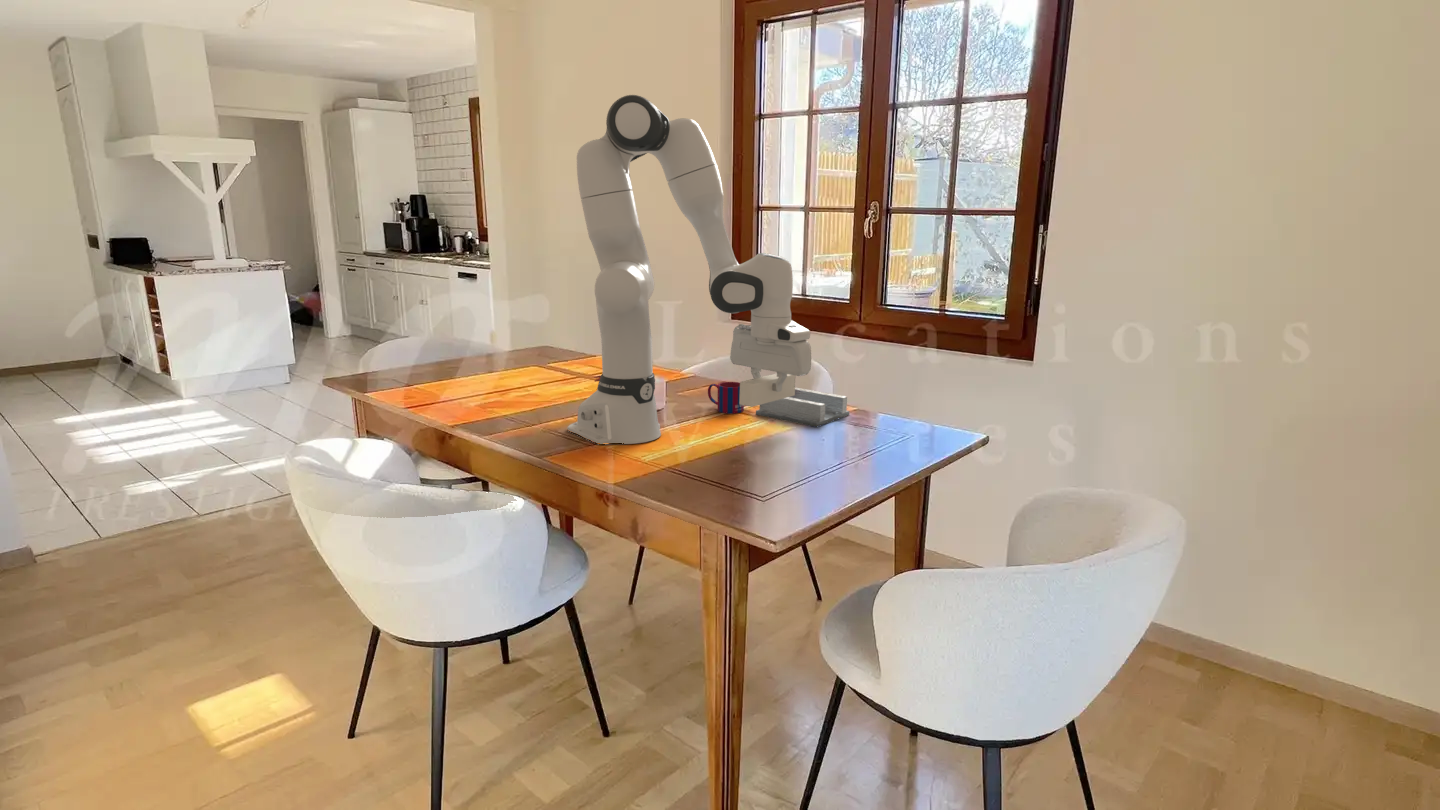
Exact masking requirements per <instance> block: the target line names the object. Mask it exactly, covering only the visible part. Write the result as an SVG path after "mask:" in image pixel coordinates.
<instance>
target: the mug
mask: <svg viewBox="0 0 1440 810" xmlns="http://www.w3.org/2000/svg"><path fill="white" fill-rule="evenodd" d="M713 386H714V387H715V388H716V389H717V401H716V400H715V399H714V398H713V395H712V393H711V392H712V387H713ZM707 396H708V398H709V400H710V401H711V402H712V403H713V404H714V405H716V406H717V411H718V412H719V413H722V414H730V415H731V414H732V415H734V414H741V413H743V412H744V410H745V405H741V404H739V399H740V382H738V381H724V382H723V381H722V382H719V383H717V384H716V383H711V384H709V386H708V388H707Z"/></svg>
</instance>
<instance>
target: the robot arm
mask: <svg viewBox="0 0 1440 810" xmlns="http://www.w3.org/2000/svg"><path fill="white" fill-rule="evenodd" d="M605 129H606V130H605V131H606V132H605V133H604V135H603V136H602V137H599V138H597V139H596V138H595V139H592V140H590V141H587V142H585V143H584V144H583V145H582V146H581V147H579V149H578V151H577V153H576V174H577V175H576V176H577V183H578V191H579V195H580V202H581V207H582V211H583V216H584V221H585V225H586V229H587V235H588V239H589V240H590V242H591V245H592V247H593V248H592V249H593V250H594V253H595V256H596V258H597V263H598V265H599V266H598V267H599V269H600V272H599V273H598V275H597V277H596V279H595V282H594V296H595V304H596V312H597V321H598V325H599V327H598V328H599V333H600V338H601V339H600V340H601V341H600V342H601V363H602V365H601V366H602V369H601V370H602V373H601V375H597V376H594V377H593V378H595V380H594V382H598V384H597V388H596V389H597V390H596V391H594V392H593V393H592V394H591V395H590V396H589V397H588V398H585V400H584V401H582V402H581V403H580V404H579V406H578V409H577V421H576V422H573V423H570V424H569V425H568V426H567V428H566V430H567V429H568V430H570V431H572V432H574V433H577V434H579V435H581V436H583V437H585V438H587V439H590V440H592V441H594V442H596V443H600V444H603V443H622V444H621V445H632V444H641V443H648V442H652V441H654V440H657V439H658V438H660V437H661V436H662V432H661V423H659V418H658V410H657V404H656V396H655V394H654V392H655V389H656V377H655V374H654V372H653V365H654V364H653V337H652V331H651V320H650V310H649V309H650V307H649V300H650V299H651V297H652V295H653V293H654V290H655V280H654V275H653V270H652V266H651V262H650V259H649V255H648V251H647V247H646V243H645V240H644V235H643V233H642V228H641V226H640V220H639V219H640V218H639V214H638V209H637V204H636V200H635V199H636V198H635V195H634V189H633V184H632V180H631V179H632V178H631V175H630V172H631V171H630V164H631V163H632V162H633V161H635V160H637V159H639V158H641V157H643V156H645V155H646V154H651V155H652V156H654V157H655V158H656V159H657V160H658V162H659V163H660V165H661V168H662V170H663V173H664V176H665V179H666V182H667V185H668V188H669V190H670V194H671V195H672V197H673V199H674V201H675V203H676V205H677V207H678V208H679V210H680V212H681V213H682V214H683V215H684V217H685V218H686V219H687V220H688V221H689V222H690V224H691V225H692V227H693V228H694V230H695V232H696V234H697V235H698V236H697V237H698V238H699V241H700V244H701V246H702V249H703V250H702V251H703V252H704V256H705V257H706V261H707V264H708V267H709V280H708V291H709V295H710V299H711V300H712V301H711V302H712V303H713V305H714V306H715V307H716V308H717V309H718V310H720V311H721V312H724V313H727V314H738V313H742V312H747V311H750V313H751V315H750V325H746V324H742V323H741V324H738V325H737V326H735V327H734V329H733V330H732V334H733V335H732V342H731V347H730V355H729V358H730V359H729V360H730V361H731V364H733V365H736V366H742V367H747V368H750V373H751V376H752V377H753V378H752V379H755V378H759V377H762V376H761V373H760V372H762V370H763V371H769V372H774V373H776V374H777V377H779V378H778V380H777V382H776V383H772V387H773V388H772V390H773V391H776V392H780V391H782V383H783V382H784V380H785V379H786V377H787V374H790V375H795V376H797V377H803V376H806V375H808V374H809V373H810V371H811V370H812V347H811V344H810V342H809V341H808V340H809V339H810V338H811V331H810V330H809V329H808V328H806V327H804V326H803V325H800V324H799V323H797V322H796V321H794V320H793V319H792V311H791V301H792V299H793V290H794V289H793V286H794V285H793V284H794V283H793V277H794V275H793V268H792V264H791V263H790V261H789V260H788V259H787V258H785V257H783V256H780V255H777V254H771V253H765V252H760V253H757V254H756V255H755V256H753V257H751V258H750V259H748V260H746V261H745V262H742V263H739V261H738V260H737V258H736V255H735V254H734V250H733V247H732V244H731V241H730V238H729V235H728V232H727V229H726V226H725V220H724V203H725V202H724V199H725V198H724V189H723V184H722V179H721V175H720V174H721V173H720V170H719V167H718V164H717V162H716V158H715V156H714V153H713V151H712V149H711V146H710V144H709V142H708V139H707V138H706V136H705V134H704V132H703V131H702V128H701V127H700V125H699V123H697V122H696V121H695V120H694V119H691V118H675V119H673V120H670V119H669V118H668V117H667V115H666V114H664V112H663V111H661V110H660V109H659V108H658V107H657V105H655V104H654V103H653V102H651V101H650V100H649V99H647V98H645V97H644V96H641V95H638V94H629V95H627V94H626V95H624V96H621V97H620V98H618V99H617V100H615V101H614V102H613V103H612V105H611V106H610V107H609V109H608V111H607V114H606V128H605ZM596 378H597V379H596ZM587 439H586V440H587ZM623 443H624V444H623Z"/></svg>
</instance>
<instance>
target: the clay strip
mask: <svg viewBox="0 0 1440 810" xmlns="http://www.w3.org/2000/svg"><path fill="white" fill-rule="evenodd" d="M778 378H779V377H777V373H774V374H769V375H764V376H761V377H759V378H755V379H754V378H752V379H748V380H747V379H746V380H742V381H740V382H739V383H740V399H739V404H741V405H744V407H745V406H746V407H749V408H753V407H756V406H757V407H758V406H760V405H761V404H764V403H768V402H772V401H776V400H779V399H783V398H787V397H790V396H794V395H795V387H796V376H795V375H790V374H787V377H786V379H785V380H784V382H783V383H782V391H780V392H776V391H773V390H772V388H773V387H772V383H776V382H777V380H778Z"/></svg>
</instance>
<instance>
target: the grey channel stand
mask: <svg viewBox="0 0 1440 810" xmlns="http://www.w3.org/2000/svg"><path fill="white" fill-rule="evenodd" d="M847 403H848V396H846V395H839V394H835V393H829V392H823V391H817V390H813V389H806V388H800V387H797V386H795V395H794V396H790V397H787V398H783V399H779V400H776V401H772V402H768V403H764V404H761V405H759V408H758V409H756V410H755V415H758V416H761V417H765V418H766V417H767V418H771V419H775V420H780V421H785V422H789V423H790V422H791V423H793V424H794V423H796V424H799V425H805V426H808V425H810V426H809V427H813V426H815V427H814V428H817V426H818V427H820V425H821V426H824V425H826V424H829V423H831V421H832V422H834V421H837V420H839V419H838V418H840V419H842V418H841V417H843V418H845V417H848V416H850V413H851V412H850V410H847V409H848V408H847V407H848V404H847ZM847 415H848V416H847ZM844 416H845V417H844ZM836 419H837V420H836ZM833 420H834V421H833ZM823 424H824V425H823Z"/></svg>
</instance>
